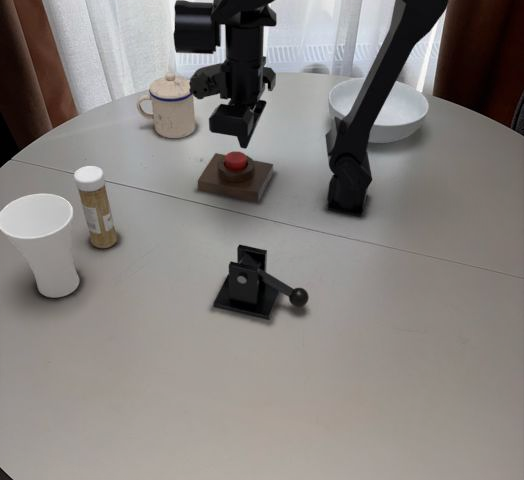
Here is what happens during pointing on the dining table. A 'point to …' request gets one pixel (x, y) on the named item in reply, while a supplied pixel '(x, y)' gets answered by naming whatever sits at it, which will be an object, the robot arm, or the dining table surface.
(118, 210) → the dining table surface
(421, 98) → the serving bowl
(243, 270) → the bracket
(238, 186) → the switch block
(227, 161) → the button
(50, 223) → the cup
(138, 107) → the teacup with lid
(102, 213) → the sprinkles bottle
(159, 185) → the dining table surface
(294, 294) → the lever
